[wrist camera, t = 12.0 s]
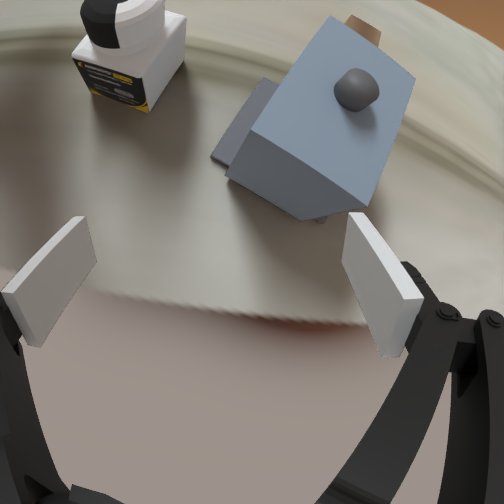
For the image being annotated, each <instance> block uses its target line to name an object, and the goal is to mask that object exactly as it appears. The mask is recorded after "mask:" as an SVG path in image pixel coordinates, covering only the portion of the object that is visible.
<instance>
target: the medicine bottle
mask: <svg viewBox="0 0 504 504" xmlns="http://www.w3.org/2000/svg"><path fill="white" fill-rule="evenodd" d="M80 15H81V18H82V21H83V24H84V26H85V29H86V32H87V35H86V36H85V37H84V39H83V40H82V41H81V42H80V44H79V45H78V46H77V47H76V49H75V50H74V51H73V52H72V58H73V60H74V62H75V64H76V66H77V68H78V70H79V72H80V74H81V76H82V77H83V79H84V81H85V83H86V85H87V87H88V89H89V90H90V92H92V93H95V94H98V95H100V96H103V97H106V98H109V99H112V100H114V101H117V102H120V103H122V104H125V105H128V106H130V107H133V108H136V109H138V110H141V111H143V112H146V113H148V112H150V111H151V109H152V108H153V106H154V104H155V103H156V101H157V100H158V98H159V96H160V95H161V93H162V92H163V90H164V89H165V87H166V86H167V84H168V83H169V81H170V80H171V78H172V77H173V75H174V74H175V72H176V71H177V69H178V68H179V67H180V65H181V64H182V62H183V61H184V53H185V35H186V20H187V19H186V17H185V16H182V15H179V14H176V13H172V12H169V11H165V0H84V2H83V4H82V6H81V10H80Z"/></svg>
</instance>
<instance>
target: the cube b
mask: <svg viewBox="0 0 504 504" xmlns="http://www.w3.org/2000/svg"><path fill="white" fill-rule="evenodd" d="M344 24H345V25H346V26H348V27H349V28H351V29H352V30H354V31H355V32H357V33H358V34H360V35H361V36H362V37H364V38H365V39H367V40H368V41H369V42H371V43H372V44H374V45H375V46H376V47H378V45H379V40H380V35H381V31H379V30H377V29H376V28H374V27H372V26H371V25H369V24H367V23H366V22H364V21H362V20H361V19H359V18H357V17H355V16H353V15H351V16H350V17H349V18H348V20H347V21H346V22H345V23H344Z"/></svg>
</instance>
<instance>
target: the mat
mask: <svg viewBox="0 0 504 504" xmlns="http://www.w3.org/2000/svg"><path fill="white" fill-rule="evenodd" d="M278 87H279V85H277V84H276V83H274V82H272V81H270V80H269V79H267V78H265V77H263V78H262V80H261V81H260V83H259V84H258V85H257V87H256V88H255V90H254V91H253V92H252V94H251V95H250V97H249V98H248V100H247V101H246V102H245V104H244V105H243V107H242V108H241V110H240V111H239V113H238V114H237V116H236V117H235V119H234V120H233V122H232V123H231V125H230V126H229V128H228V129H227V131H226V132H225V134H224V135H223V137H222V138H221V140H220V141H219V143H218V144H217V146H216V148H215V149H214V151H213V152H212V154H211V156H210V157H212V158H213V159H215V160H217V161H219V162H221V163H222V164H224V165H226V166H228V167H229V166H230V164H231V163H232V161H233V159H234V157H235V156H236V154H237V152H238V150H239V149H240V147H241V145H242V143H243V142H244V140H245V138H246V136H247V135H248V133H249V131H250V130H251V128H252V126H253V125H254V123H255V122H256V120H257V119H258V117H259V116H260V114H261V113H262V111H263V110H264V108H265V106H266V105H267V103H268V102H269V100H270V99H271V97H272V96H273V94H274V93H275V91H276V90H277V89H278ZM327 216H328V215H327ZM327 216H322V217H318V218H314V219H315V220H316V221H318V222H320V223H321V224H322V223H324V222H325V220H326V218H327Z"/></svg>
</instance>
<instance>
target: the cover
mask: <svg viewBox="0 0 504 504" xmlns="http://www.w3.org/2000/svg"><path fill="white" fill-rule="evenodd" d="M415 80H416V78H414V77H413V76H412V75H411V74H410V73H409V72H408V71H406V70H405V69H404V68H403V67H402V66H400V65H399V64H398V63H397V62H396V61H394V60H393V59H392V58H391V57H389V56H388V55H387V54H385V53H384V52H383V51H382V50H380V49H379V48H378V47H376V46H375V45H374V44H372V43H371V42H369V41H368V40H367V39H365V38H364V37H362V36H361V35H360V34H358V33H357V32H355V31H354V30H352V29H351V28H349V27H348V26H346V25H345V24H343V23H342V22H340V21H339V20H337V19H335V18H334V17H332V16H329V17H328V19H327V20H326V21H325V23H324V24H323V25H322V27H321V28H320V29H319V31H318V32H317V33H316V35H315V36H314V37H313V39H312V40H311V41H310V43H309V44H308V46H307V47H306V48H305V50H304V51H303V53H302V54H301V55H300V57H299V58H298V60H297V61H296V62H295V64H294V65H293V67H292V68H291V70H290V71H289V72H288V74H287V75H286V77H285V78H284V80H283V81H282V83H281V84H280V86H279V87H278V89H277V90H276V91H275V93H274V94H273V96H272V97H271V99H270V100H269V102H268V103H267V105H266V106H265V108H264V110H263V111H262V113H261V114H260V116H259V117H258V119H257V120H256V122H255V123H254V125H253V126H252V128H251V130H250V131H249V133H248V135H247V136H246V138H245V140H244V142H243V143H242V145H241V147H240V149H239V150H238V152H237V154H236V156H235V157H234V159H233V161H232V163H231V164H230V166H229V168H228V170H227V172H226V173H225V176H227V177H228V178H230V179H232V180H233V181H235V182H237V183H239V184H240V185H242V186H244V187H245V188H247V189H249V190H251V191H252V192H254V193H256V194H257V195H259V196H261V197H262V198H264V199H266V200H267V201H269V202H271V203H272V204H274V205H276V206H277V207H279V208H281V209H282V210H284V211H285V212H287V213H289V214H290V215H292V216H294V217H295V218H297V219H298V220H300V221H305V220H309V219H314V218H318V217H322V216H327V215H331V214H336V213H340V212H345V211H349V210H354V209H358V208H363V207H367V206H368V204H369V202H370V200H371V197H372V195H373V193H374V190H375V188H376V186H377V183H378V181H379V178H380V176H381V173H382V171H383V168H384V166H385V163H386V161H387V158H388V156H389V153H390V151H391V148H392V145H393V143H394V140H395V137H396V135H397V132H398V129H399V127H400V124H401V121H402V118H403V115H404V113H405V110H406V107H407V104H408V101H409V98H410V95H411V92H412V89H413V86H414V83H415Z"/></svg>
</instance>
